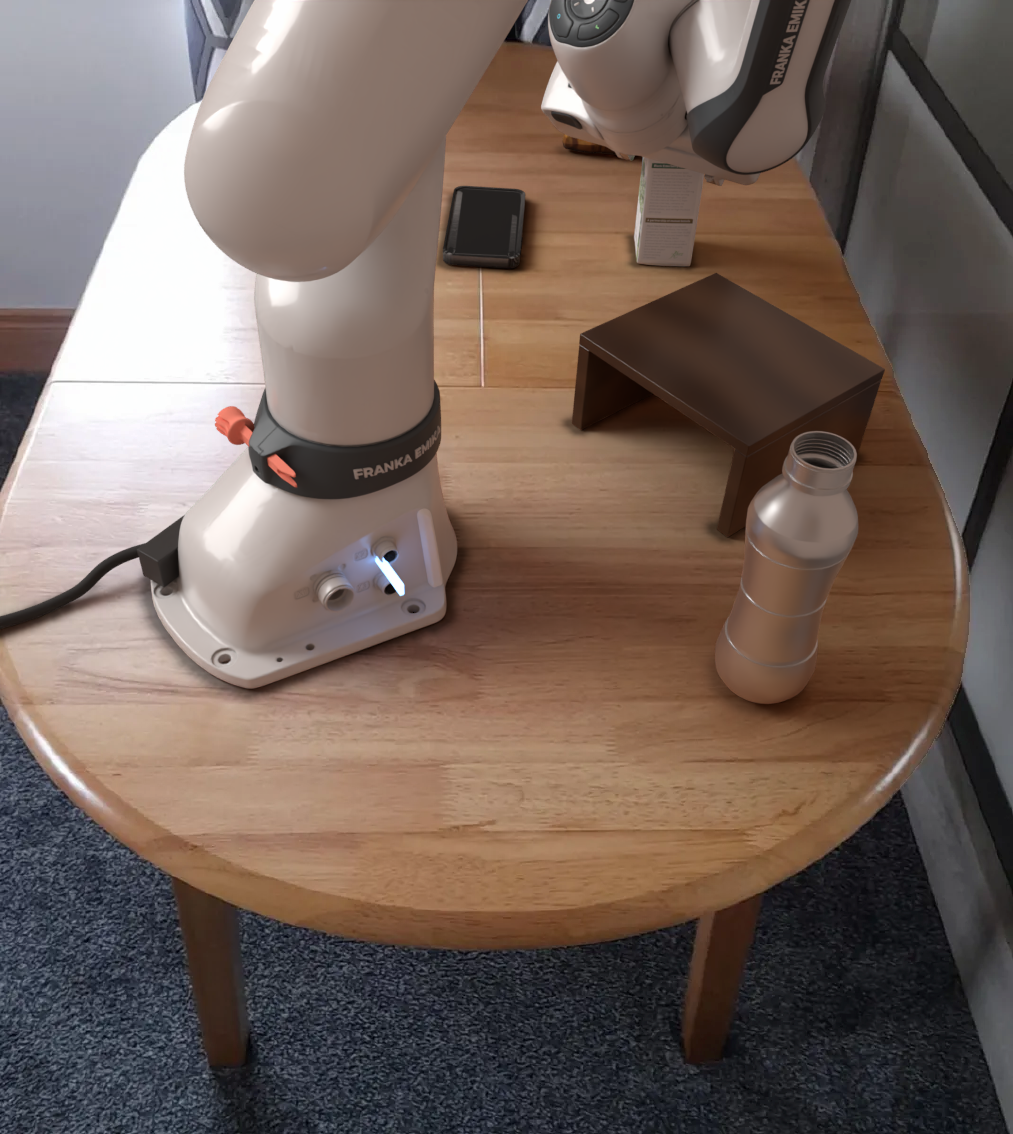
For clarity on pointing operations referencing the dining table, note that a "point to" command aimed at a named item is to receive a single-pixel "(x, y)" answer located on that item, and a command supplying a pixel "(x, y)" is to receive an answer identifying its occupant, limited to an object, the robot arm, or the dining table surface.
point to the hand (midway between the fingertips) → (672, 164)
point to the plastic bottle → (789, 570)
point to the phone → (485, 227)
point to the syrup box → (666, 214)
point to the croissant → (584, 146)
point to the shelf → (728, 378)
